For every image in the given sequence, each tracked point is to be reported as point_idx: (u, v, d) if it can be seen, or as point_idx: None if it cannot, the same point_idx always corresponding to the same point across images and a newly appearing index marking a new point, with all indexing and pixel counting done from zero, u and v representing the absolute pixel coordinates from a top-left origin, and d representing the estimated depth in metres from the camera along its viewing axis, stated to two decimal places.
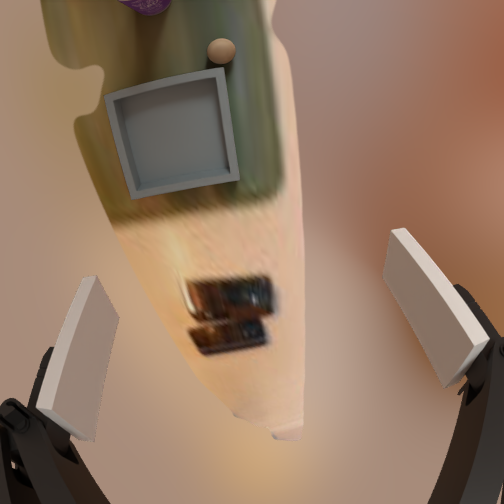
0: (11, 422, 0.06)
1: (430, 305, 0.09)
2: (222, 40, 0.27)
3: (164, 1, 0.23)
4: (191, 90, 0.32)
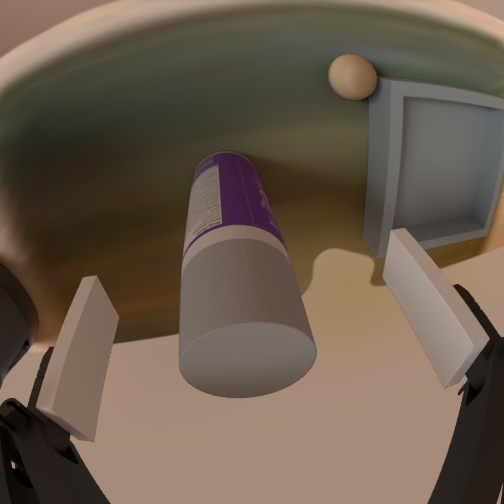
0: (11, 422, 0.06)
1: (430, 305, 0.09)
2: (340, 73, 0.15)
3: (249, 170, 0.18)
4: None
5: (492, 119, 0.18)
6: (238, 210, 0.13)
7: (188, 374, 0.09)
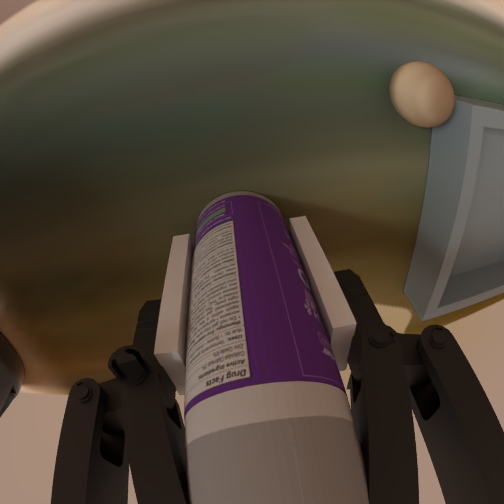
0: (123, 371, 0.08)
1: (310, 288, 0.11)
2: (412, 89, 0.10)
3: (278, 229, 0.12)
4: None
5: None
6: (275, 341, 0.07)
7: None
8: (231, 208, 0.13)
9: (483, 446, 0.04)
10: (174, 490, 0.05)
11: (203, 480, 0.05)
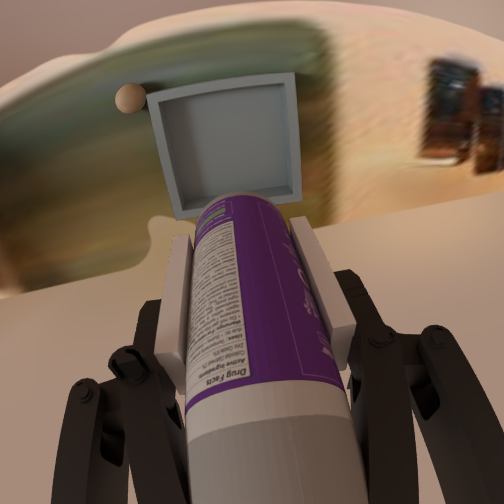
0: (123, 370, 0.08)
1: (310, 288, 0.11)
2: (116, 100, 0.24)
3: (278, 229, 0.12)
4: (180, 124, 0.29)
5: (282, 94, 0.27)
6: (275, 340, 0.07)
7: None
8: (231, 208, 0.13)
9: (483, 446, 0.04)
10: (174, 490, 0.05)
11: (203, 478, 0.05)
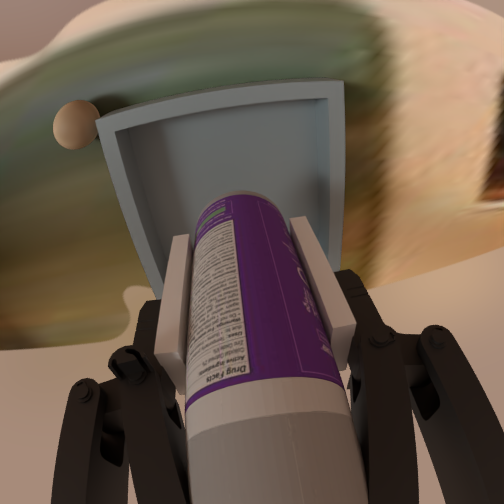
0: (123, 370, 0.08)
1: (311, 288, 0.11)
2: (53, 130, 0.14)
3: (278, 228, 0.12)
4: (156, 162, 0.19)
5: (319, 115, 0.17)
6: (274, 337, 0.07)
7: None
8: (231, 207, 0.13)
9: (483, 446, 0.04)
10: (174, 490, 0.05)
11: (203, 475, 0.05)
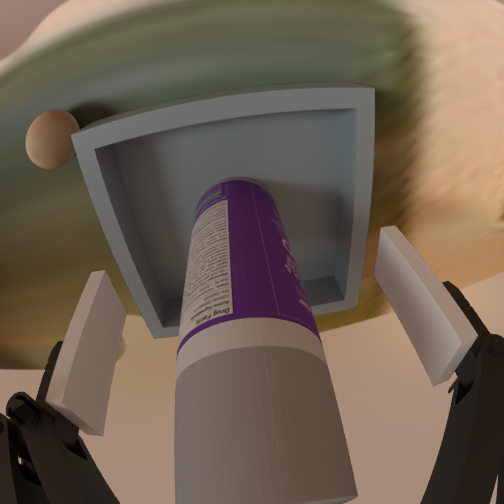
0: (20, 416, 0.06)
1: (419, 302, 0.10)
2: (26, 146, 0.11)
3: (267, 208, 0.14)
4: (146, 182, 0.16)
5: (342, 127, 0.14)
6: (256, 287, 0.09)
7: None
8: (226, 190, 0.15)
9: None
10: None
11: (187, 403, 0.06)
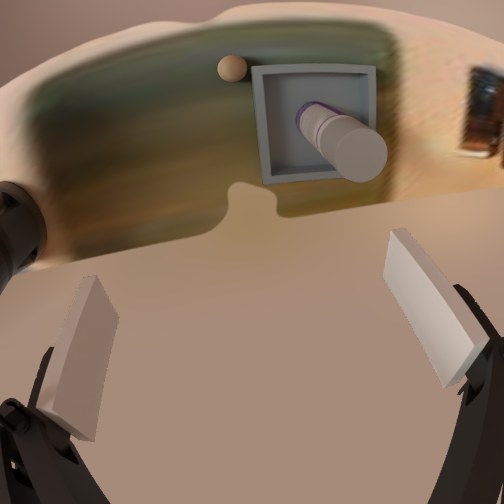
0: (11, 422, 0.06)
1: (430, 305, 0.09)
2: (220, 67, 0.27)
3: None
4: (274, 98, 0.32)
5: (362, 83, 0.30)
6: (342, 113, 0.25)
7: (338, 156, 0.21)
8: (314, 102, 0.30)
9: None
10: None
11: (332, 127, 0.22)
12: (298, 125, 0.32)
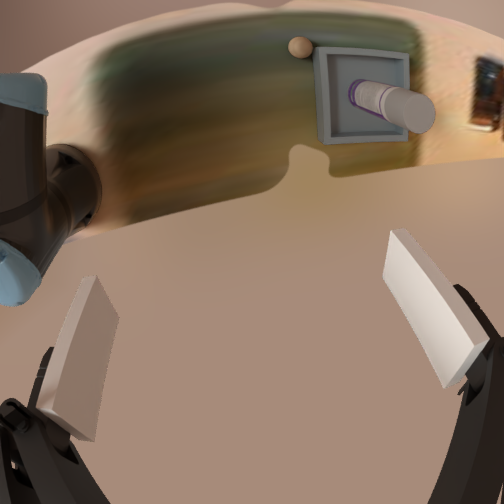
0: (11, 422, 0.06)
1: (430, 305, 0.09)
2: (292, 45, 0.31)
3: None
4: (331, 74, 0.36)
5: (397, 67, 0.34)
6: None
7: (405, 112, 0.25)
8: None
9: None
10: None
11: (395, 93, 0.27)
12: (352, 97, 0.36)
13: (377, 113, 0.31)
